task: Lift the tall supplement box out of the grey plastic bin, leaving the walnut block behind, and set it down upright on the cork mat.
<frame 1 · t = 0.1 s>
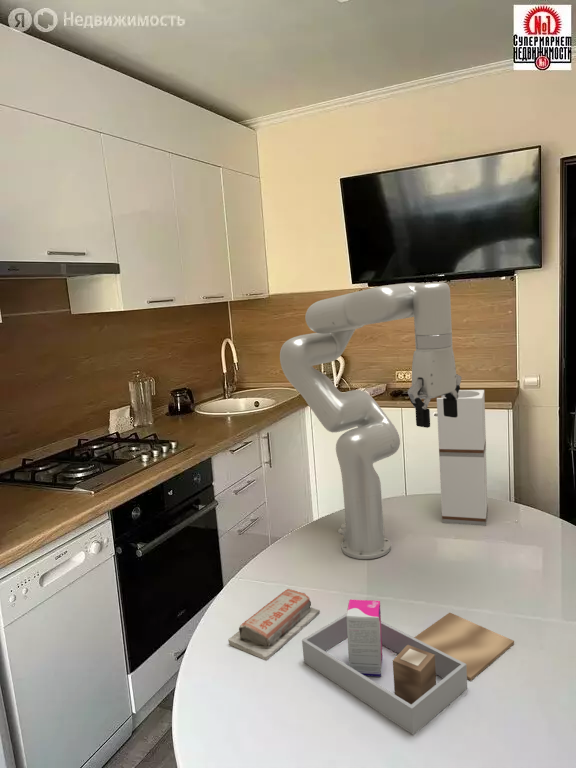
hand: (437, 421, 127), 37 cm above the table, tool pointing down, fingers open, 9 cm apart
walnut block: (415, 695, 98), resting in grey bin
supplement box: (366, 666, 107), resting in grey bin
packaged product: (276, 631, 121), on the table
cork mat: (459, 645, 110), on the table
grey bin: (381, 674, 104), on the table
tall striped box: (465, 517, 166), on the table
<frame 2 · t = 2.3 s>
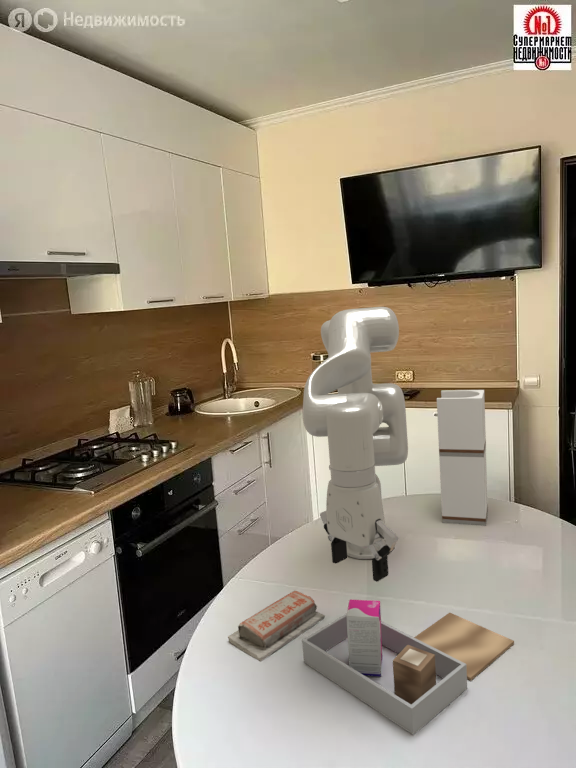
hand: (359, 569, 103), 19 cm above the table, tool pointing down, fingers open, 9 cm apart
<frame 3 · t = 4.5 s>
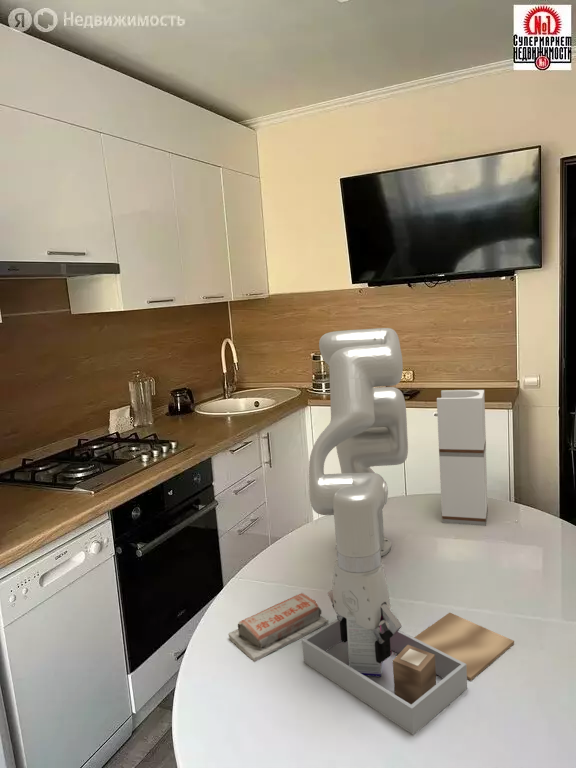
hand: (365, 648, 106), 3 cm above the table, tool pointing down, fingers closed on supplement box, 7 cm apart
supplement box: (366, 666, 107), resting in grey bin, touching gripper
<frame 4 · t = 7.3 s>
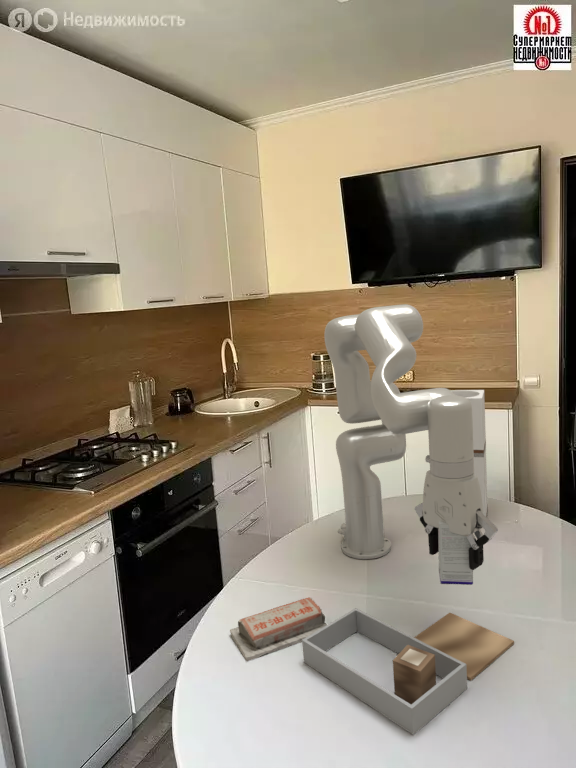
hand: (455, 558, 107), 17 cm above the table, tool pointing down, fingers closed on supplement box, 7 cm apart
supplement box: (456, 577, 108), point 14 cm above the table, touching gripper
when the fingers open (5 cm above the table, at t = 10.4 s): supplement box stays where it is, resting on cork mat.
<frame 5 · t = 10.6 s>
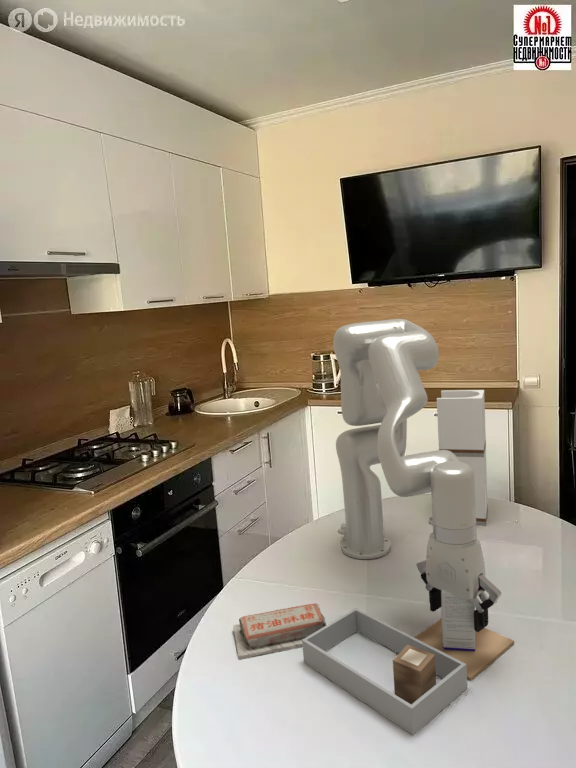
hand: (458, 618, 109), 6 cm above the table, tool pointing down, fingers open, 9 cm apart
supplement box: (458, 642, 110), resting on cork mat
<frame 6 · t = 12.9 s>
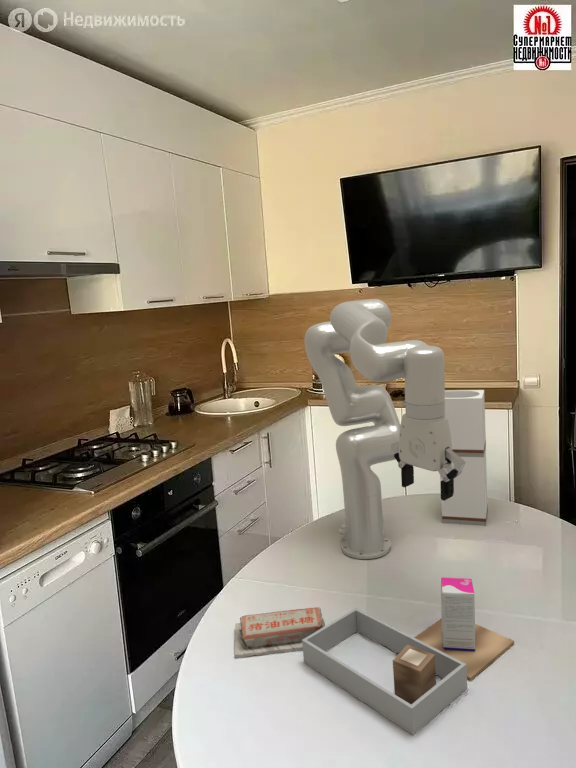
hand: (426, 491, 119), 25 cm above the table, tool pointing down, fingers open, 9 cm apart
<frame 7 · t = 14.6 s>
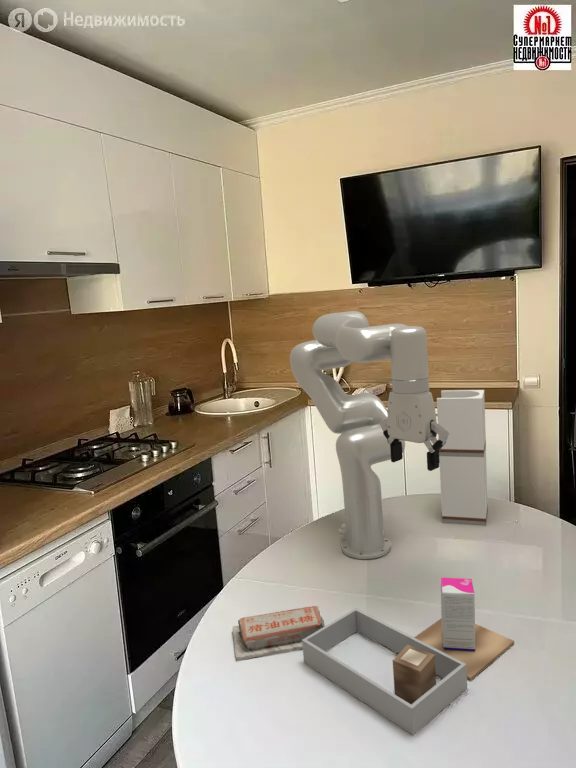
hand: (414, 464, 126), 28 cm above the table, tool pointing down, fingers open, 9 cm apart
at the end: supplement box inside the target area on the cork mat (0.2 cm from its centre), point 0.4 cm above the cork mat's base; supplement box tilted 0°; the gripper is holding nothing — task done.
